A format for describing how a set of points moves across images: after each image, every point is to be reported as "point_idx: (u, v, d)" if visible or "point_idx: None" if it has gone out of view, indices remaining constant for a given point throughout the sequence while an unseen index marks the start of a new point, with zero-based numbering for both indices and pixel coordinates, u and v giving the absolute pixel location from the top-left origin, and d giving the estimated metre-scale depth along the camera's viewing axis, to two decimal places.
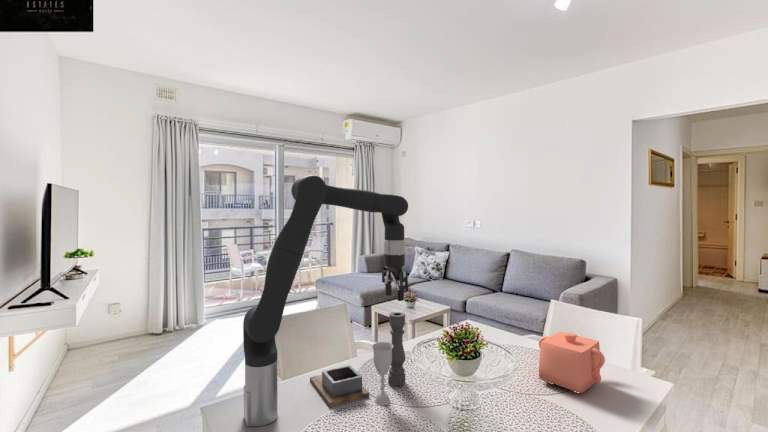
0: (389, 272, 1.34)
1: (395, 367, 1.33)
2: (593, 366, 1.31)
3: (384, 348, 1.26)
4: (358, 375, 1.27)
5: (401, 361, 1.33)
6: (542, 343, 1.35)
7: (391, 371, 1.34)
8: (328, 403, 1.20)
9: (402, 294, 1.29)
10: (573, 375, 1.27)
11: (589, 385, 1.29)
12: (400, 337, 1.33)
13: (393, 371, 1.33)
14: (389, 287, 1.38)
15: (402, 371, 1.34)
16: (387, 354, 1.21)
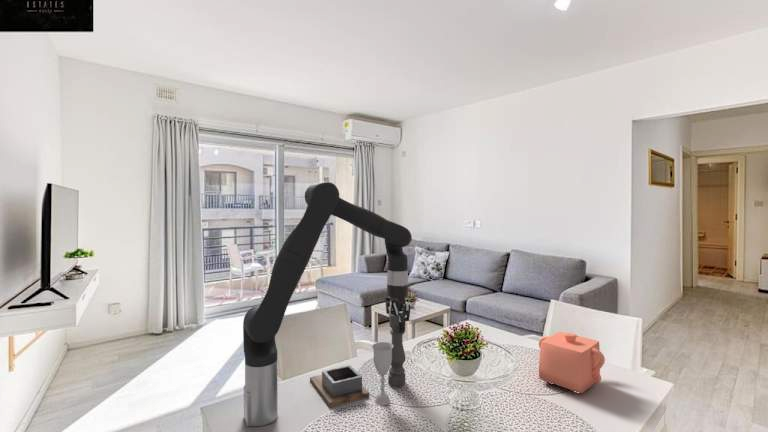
0: (392, 302, 1.35)
1: (395, 367, 1.33)
2: (593, 366, 1.31)
3: (384, 348, 1.26)
4: (358, 375, 1.27)
5: (401, 361, 1.33)
6: (542, 343, 1.36)
7: (391, 371, 1.34)
8: (328, 403, 1.20)
9: (403, 326, 1.31)
10: (573, 375, 1.27)
11: (589, 385, 1.29)
12: (400, 337, 1.33)
13: (393, 371, 1.33)
14: None
15: (402, 371, 1.34)
16: (387, 354, 1.20)
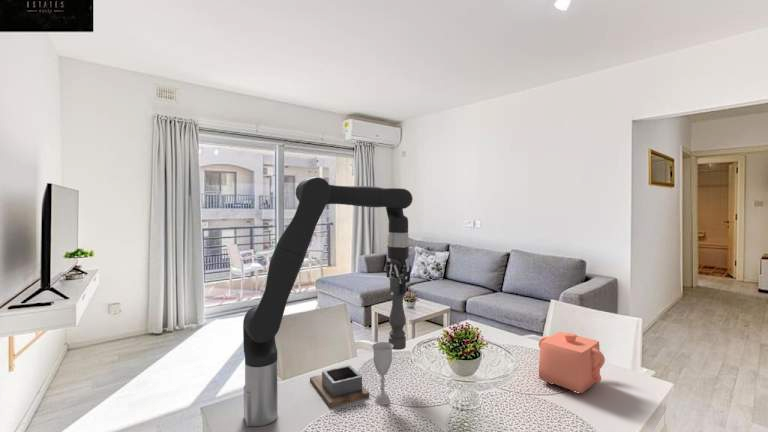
0: (393, 264, 1.34)
1: (395, 329, 1.33)
2: (593, 366, 1.31)
3: (384, 348, 1.26)
4: (358, 375, 1.27)
5: (401, 323, 1.32)
6: (542, 343, 1.36)
7: (391, 333, 1.33)
8: (328, 403, 1.20)
9: (404, 287, 1.31)
10: (573, 375, 1.27)
11: (589, 385, 1.29)
12: (400, 299, 1.33)
13: (393, 333, 1.33)
14: None
15: (402, 334, 1.33)
16: (387, 354, 1.21)
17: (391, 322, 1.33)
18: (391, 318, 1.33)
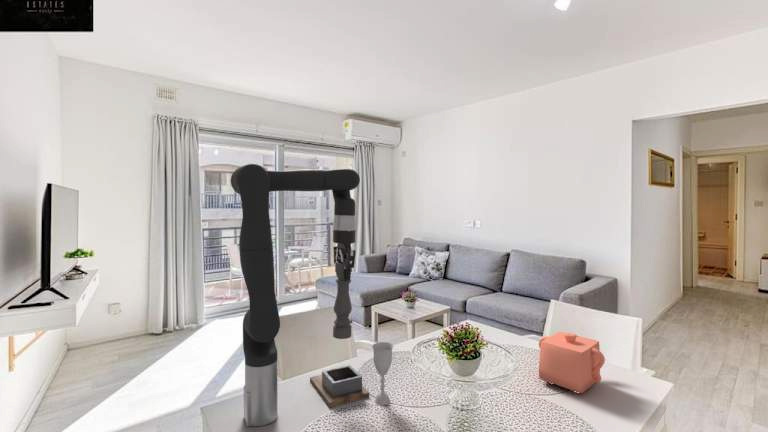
0: (338, 249, 1.27)
1: (340, 318, 1.26)
2: (593, 366, 1.31)
3: (384, 348, 1.26)
4: (358, 375, 1.27)
5: (346, 311, 1.25)
6: (542, 343, 1.36)
7: (336, 322, 1.26)
8: (328, 403, 1.20)
9: (348, 273, 1.24)
10: (573, 375, 1.27)
11: (589, 385, 1.29)
12: (345, 286, 1.26)
13: (338, 321, 1.26)
14: None
15: (347, 322, 1.26)
16: (387, 354, 1.20)
17: (335, 310, 1.26)
18: (335, 305, 1.26)
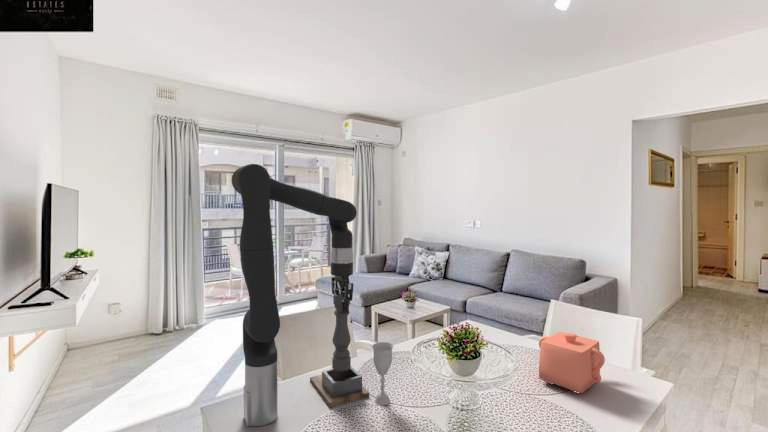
0: (336, 281, 1.27)
1: (339, 350, 1.26)
2: (593, 366, 1.31)
3: (384, 348, 1.26)
4: (358, 375, 1.27)
5: (345, 343, 1.25)
6: (542, 343, 1.35)
7: (335, 354, 1.26)
8: (328, 403, 1.20)
9: (346, 306, 1.24)
10: (573, 375, 1.27)
11: (589, 385, 1.29)
12: (344, 318, 1.26)
13: (337, 353, 1.26)
14: None
15: (346, 354, 1.26)
16: (387, 354, 1.20)
17: (334, 342, 1.26)
18: (334, 338, 1.26)
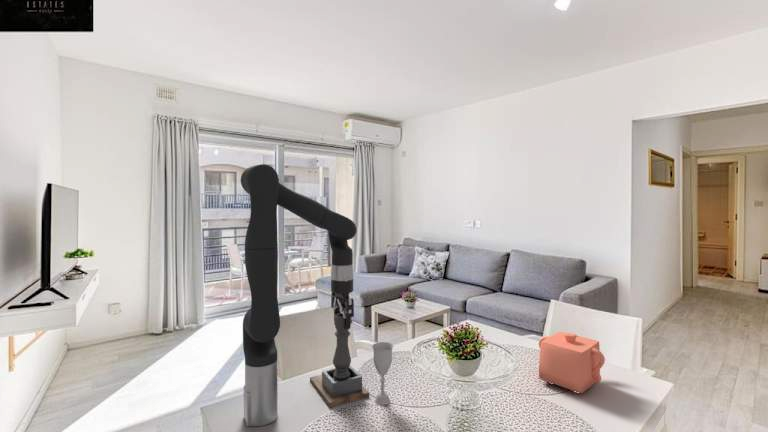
0: (336, 298, 1.28)
1: (339, 371, 1.26)
2: (593, 366, 1.31)
3: (384, 348, 1.26)
4: (358, 375, 1.27)
5: (345, 365, 1.26)
6: (542, 343, 1.35)
7: (335, 375, 1.27)
8: (328, 403, 1.20)
9: (348, 322, 1.23)
10: (573, 375, 1.27)
11: (589, 385, 1.29)
12: (344, 339, 1.26)
13: (337, 375, 1.26)
14: None
15: (346, 375, 1.27)
16: (387, 354, 1.20)
17: (334, 363, 1.26)
18: (335, 359, 1.26)
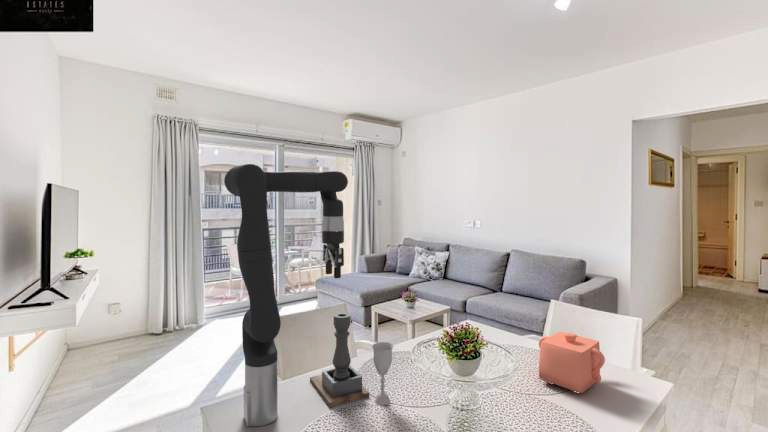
0: (328, 249, 1.31)
1: (339, 371, 1.26)
2: (593, 366, 1.31)
3: (384, 348, 1.26)
4: (358, 375, 1.27)
5: (345, 365, 1.26)
6: (542, 343, 1.35)
7: (335, 375, 1.27)
8: (328, 403, 1.20)
9: (338, 271, 1.27)
10: (573, 375, 1.27)
11: (589, 385, 1.29)
12: (344, 339, 1.26)
13: (337, 375, 1.26)
14: (329, 265, 1.35)
15: (346, 375, 1.27)
16: (387, 354, 1.20)
17: (334, 363, 1.26)
18: (334, 359, 1.26)
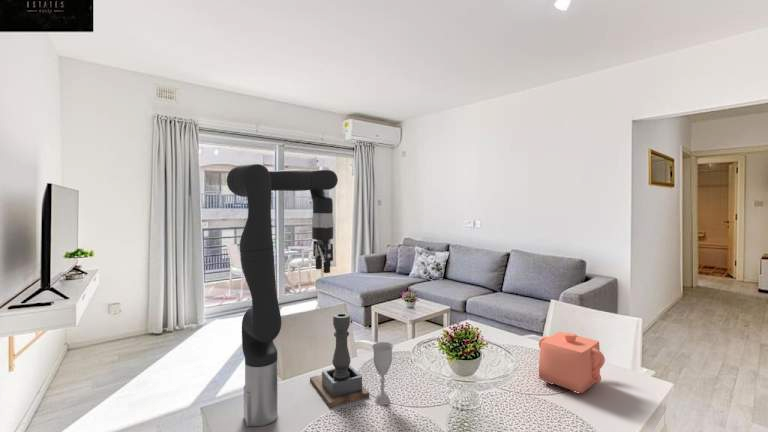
0: (317, 245, 1.35)
1: (339, 371, 1.26)
2: (593, 366, 1.31)
3: (384, 348, 1.26)
4: (358, 375, 1.27)
5: (345, 365, 1.26)
6: (542, 343, 1.35)
7: (335, 375, 1.27)
8: (328, 403, 1.20)
9: (328, 266, 1.31)
10: (573, 375, 1.27)
11: (589, 385, 1.29)
12: (343, 339, 1.26)
13: (336, 375, 1.26)
14: (319, 261, 1.39)
15: (346, 375, 1.27)
16: (387, 354, 1.20)
17: (334, 363, 1.26)
18: (334, 359, 1.26)
